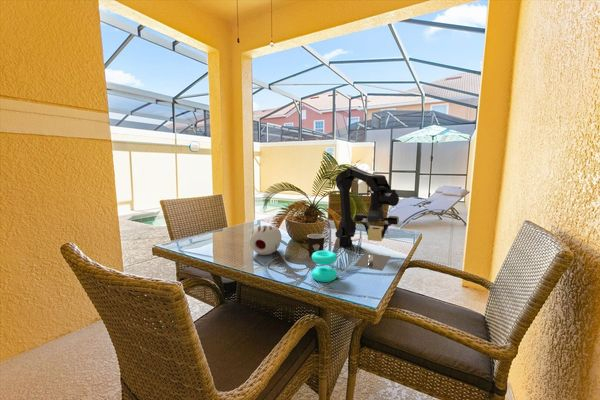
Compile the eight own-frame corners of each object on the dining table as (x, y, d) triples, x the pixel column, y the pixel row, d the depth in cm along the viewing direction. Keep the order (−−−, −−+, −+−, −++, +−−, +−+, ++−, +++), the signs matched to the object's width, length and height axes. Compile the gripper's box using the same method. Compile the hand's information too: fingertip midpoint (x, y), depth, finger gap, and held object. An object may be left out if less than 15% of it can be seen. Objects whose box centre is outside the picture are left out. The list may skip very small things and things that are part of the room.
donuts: (329, 248, 115) (342, 255, 106) (328, 271, 116) (341, 280, 107) (307, 251, 111) (318, 259, 102) (307, 275, 112) (318, 285, 103)
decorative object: (287, 248, 147) (286, 221, 145) (274, 260, 129) (274, 229, 127) (260, 246, 151) (259, 219, 149) (244, 257, 133) (243, 227, 131)
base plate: (382, 274, 113) (382, 261, 112) (353, 269, 118) (353, 256, 118) (390, 259, 130) (391, 248, 130) (365, 255, 136) (365, 244, 135)
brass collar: (381, 241, 121) (381, 230, 121) (367, 239, 124) (367, 229, 123) (383, 238, 127) (384, 227, 126) (370, 236, 129) (370, 226, 129)
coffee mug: (326, 254, 137) (327, 234, 136) (320, 259, 130) (321, 239, 128) (305, 251, 142) (305, 232, 141) (298, 256, 135) (298, 236, 133)
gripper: (351, 204, 120) (350, 239, 122) (396, 207, 112) (394, 244, 114) (358, 201, 130) (357, 233, 132) (399, 203, 122) (398, 238, 124)
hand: (375, 237), depth 125 cm, fingers closed on brass collar, 6 cm apart
